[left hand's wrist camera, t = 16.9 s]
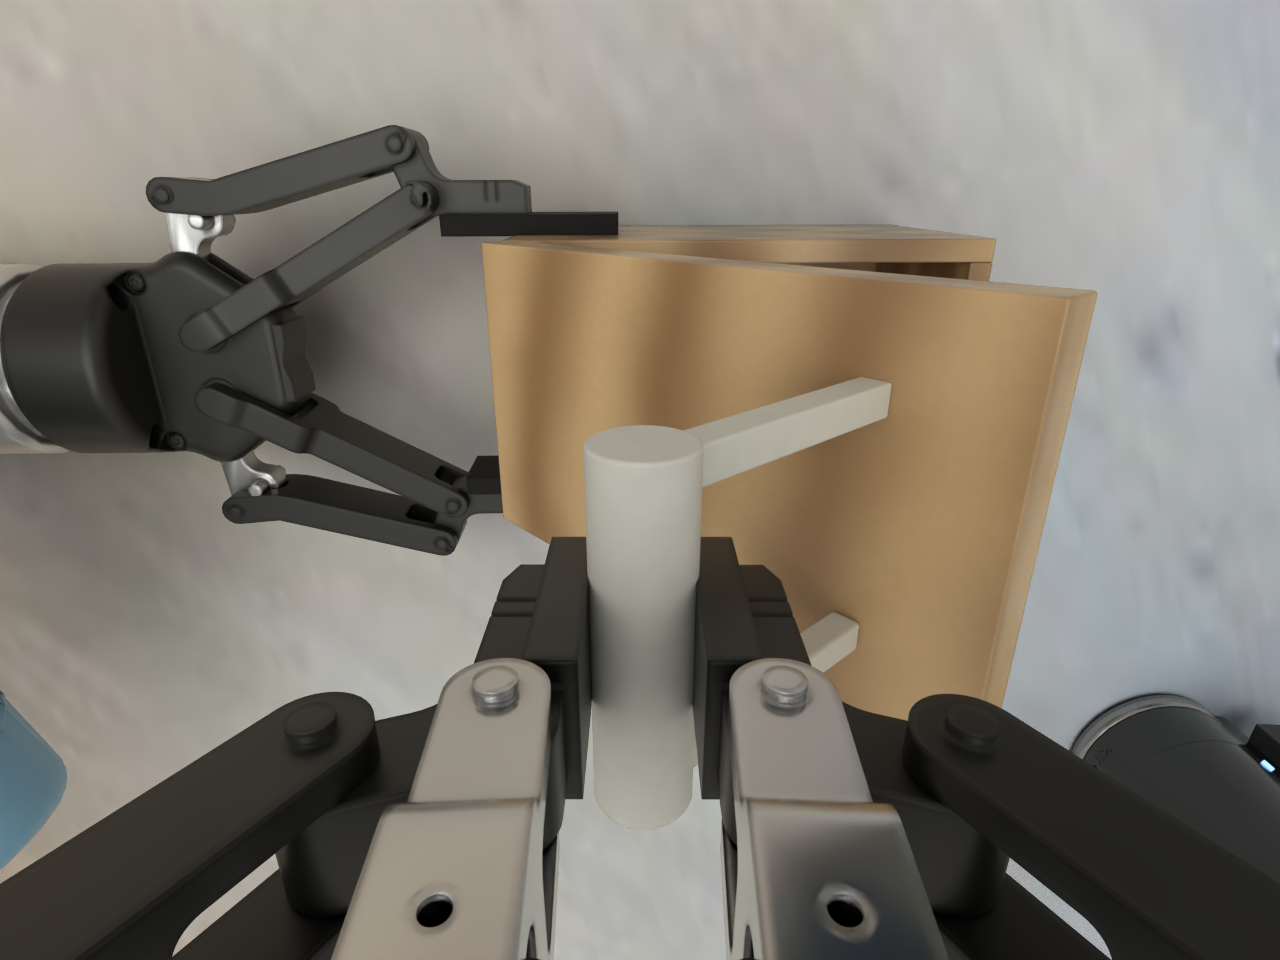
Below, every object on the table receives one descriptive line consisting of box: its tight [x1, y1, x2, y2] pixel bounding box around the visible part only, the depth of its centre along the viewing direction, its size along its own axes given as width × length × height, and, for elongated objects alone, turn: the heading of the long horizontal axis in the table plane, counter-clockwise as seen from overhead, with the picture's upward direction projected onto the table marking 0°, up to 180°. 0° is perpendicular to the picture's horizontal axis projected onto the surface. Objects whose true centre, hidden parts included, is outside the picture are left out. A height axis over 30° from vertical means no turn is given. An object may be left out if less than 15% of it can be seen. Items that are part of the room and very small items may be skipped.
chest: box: [502, 225, 996, 282], centre depth 31 cm, size 17×10×10 cm, turn 90°
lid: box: [482, 241, 1097, 830], centre depth 17 cm, size 17×10×8 cm
